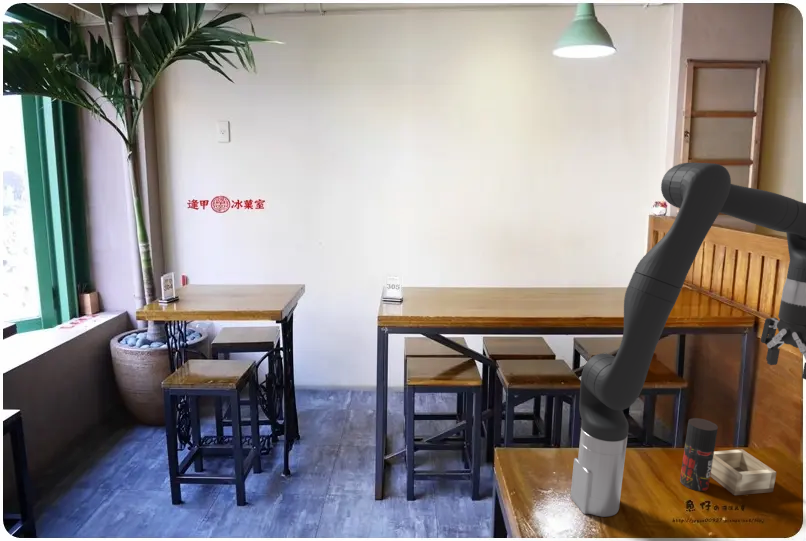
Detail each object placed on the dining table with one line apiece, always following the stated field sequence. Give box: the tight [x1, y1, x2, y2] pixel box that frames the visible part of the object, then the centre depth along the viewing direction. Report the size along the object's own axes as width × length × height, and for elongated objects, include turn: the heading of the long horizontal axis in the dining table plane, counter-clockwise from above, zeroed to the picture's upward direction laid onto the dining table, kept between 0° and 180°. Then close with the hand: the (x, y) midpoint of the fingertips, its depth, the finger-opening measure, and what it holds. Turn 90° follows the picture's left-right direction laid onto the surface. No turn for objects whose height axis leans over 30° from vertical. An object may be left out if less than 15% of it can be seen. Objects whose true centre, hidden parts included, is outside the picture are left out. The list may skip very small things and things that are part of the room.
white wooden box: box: [710, 448, 777, 496], centre depth 129 cm, size 10×10×5 cm
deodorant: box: [679, 417, 719, 492], centre depth 127 cm, size 6×6×15 cm
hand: (789, 371), depth 122 cm, fingers open, 8 cm apart
